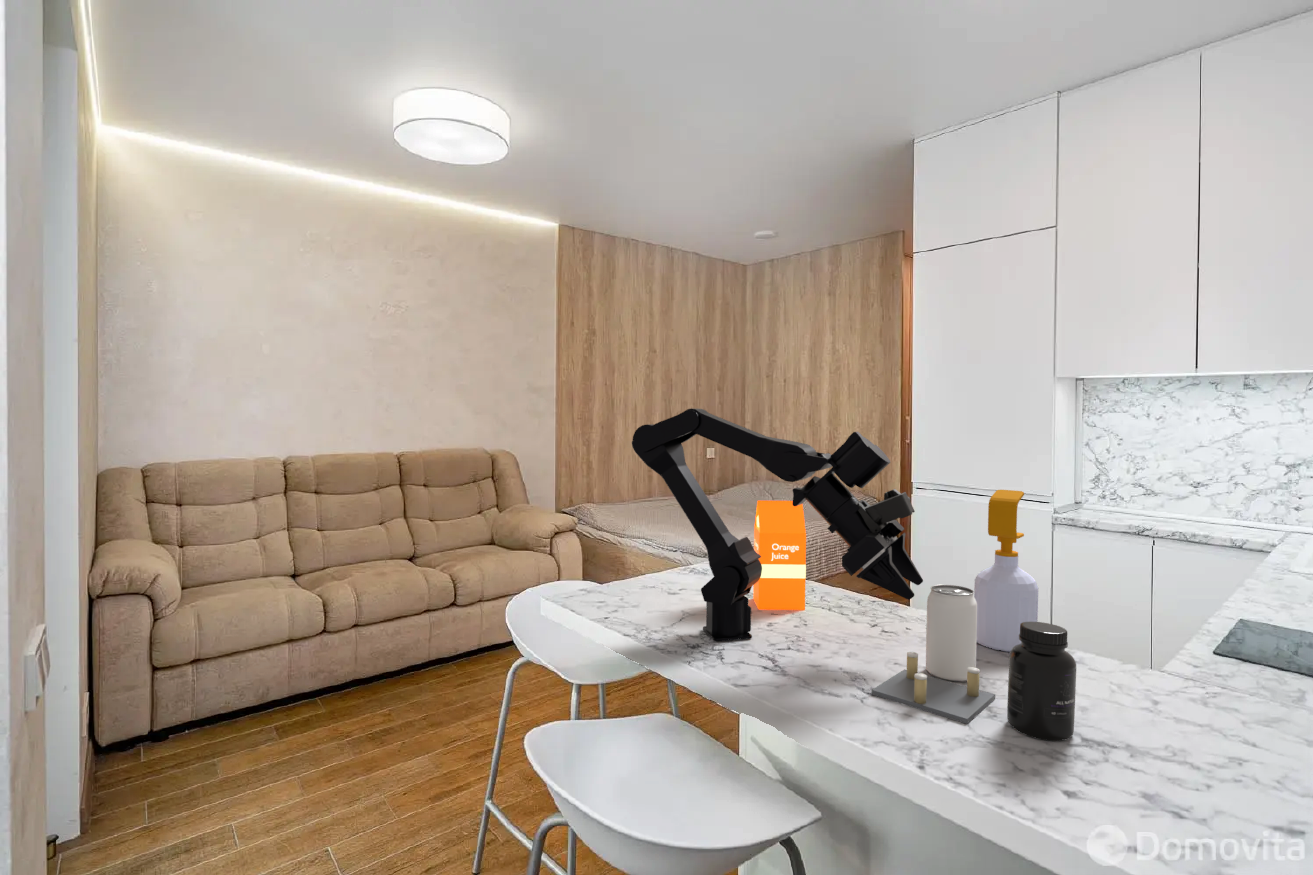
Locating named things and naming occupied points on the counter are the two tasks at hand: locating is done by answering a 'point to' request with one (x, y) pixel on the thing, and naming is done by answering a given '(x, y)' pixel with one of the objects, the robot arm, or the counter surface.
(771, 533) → the orange juice
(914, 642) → the counter surface
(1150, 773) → the counter surface
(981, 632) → the soap bottle
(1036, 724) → the supplement bottle
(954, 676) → the can
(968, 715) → the peg board
